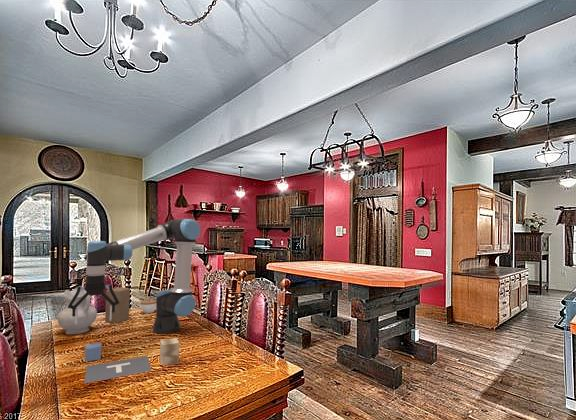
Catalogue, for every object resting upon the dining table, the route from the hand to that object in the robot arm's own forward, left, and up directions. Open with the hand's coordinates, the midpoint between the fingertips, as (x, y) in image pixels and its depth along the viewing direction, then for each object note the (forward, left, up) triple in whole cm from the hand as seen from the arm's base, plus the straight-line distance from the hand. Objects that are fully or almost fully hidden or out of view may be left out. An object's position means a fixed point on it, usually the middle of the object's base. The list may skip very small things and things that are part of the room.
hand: (93, 321), depth 152 cm
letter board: (-10, +18, -17) cm, 27 cm away
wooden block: (-11, -65, -17) cm, 68 cm away
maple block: (-30, +20, -17) cm, 40 cm away
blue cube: (0, 0, -17) cm, 17 cm away
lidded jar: (-31, -78, -17) cm, 86 cm away
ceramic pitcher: (+9, -50, -17) cm, 54 cm away
